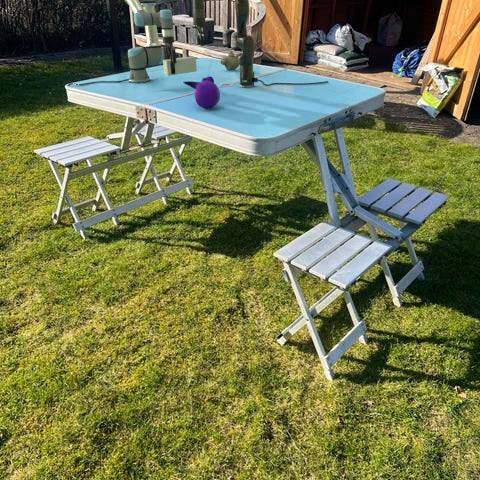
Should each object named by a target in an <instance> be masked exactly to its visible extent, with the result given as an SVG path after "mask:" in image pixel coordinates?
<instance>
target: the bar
mask: <svg viewBox="0 0 480 480" xmlns="http://www.w3.org/2000/svg"><path fill="white" fill-rule="evenodd" d="M170 63H171V60H170V59H167V60H163V64H162V66H163V75H165V76H167V77H169V76H177V75H181V74H189V73H196V72H198V70H197V68H198V67H197V57H196V56H192V55H191V56H183V57H176V63H175V73H176V74H171V64H170Z"/></svg>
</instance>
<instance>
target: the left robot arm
mask: <svg viewBox="0 0 480 480" xmlns="http://www.w3.org/2000/svg"><path fill="white" fill-rule="evenodd" d="M157 1H158V0H124V2H125V3H126V4H127V5H128V6H129V8H130V9H131V12H132V13H133V22H134V25H135V27H144V31H145V37H146V44H145V46H144V47H145V48H144V47H143V46H136V47H132V48H130V49H127V58H128V66H129V76H128V78H126V79H122V80H100V81H99V80H98V81H97V80H96V81H91V82H84V83H75V84H76V85H75V86H79V87H80V86H85V85H92V84H98V83H99V84H100V83H124V82H127V81H128V82H129V83H133V84H141V83H148V82H150V76H149V74H148V71H147V66H158V65H163V60H167V59H170V60H171V63H170V64H171V74H176V73H175V63H176V58H177V54H176V53H177V52H176V49H177V48H176V46H174V43H175V36H174V32H175V31H174V20H173V17H174V16H173V11H172V10H171V9H160V11H157V12H156V8H155V6H156V5H157ZM158 26H161V36H162V43H163V45H162V44H161V43H160V41H159V33H158ZM73 83H74V82H70V83H68V84H67V87H70V86H71V85H73ZM78 84H79V85H78Z"/></svg>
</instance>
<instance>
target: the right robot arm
mask: <svg viewBox="0 0 480 480" xmlns="http://www.w3.org/2000/svg"><path fill="white" fill-rule="evenodd" d="M234 9H235V20H236V44H237V46H238V48H239V49H241V50H242V52H241V53H242V55H241V56H239V60H240V64H239V87H240V88H246V89H247V88H253V87H255V83H259V82H260V83H261V84H262V85H263V86H265V87H266V86H267V87H268V86H273V85H286V86H287V85H289V86H290V85H293V86H294V85H295V86H302V85H303V86H307V85H318V84H319V85H320V84H327V83H329V81H328V80H326V81H318V82H304V83H303V82H302V83H301V82H300V83H299V82H298V83H295V82H293V83H292V82H271V83H269V84H266V83H265V82H264V81H263V80H261V79H259V78H258V77H255V71H254V56H255V44H256V43H255V39H254V37H253V36H252V35H249V34H248V29H247V27H248V21H249V17H250V13H251V12H250V11H251V9H250V1H249V0H234ZM192 19H193V20H192V21H193V22H192V23H193V24H192V25H193V26H194V27H195V37H196V43H197V45H200V46H201V47H204V46H205V38H206V36H205V34H206V33H205V27H203V26H206V23H207V22H206V10H205V0H192Z"/></svg>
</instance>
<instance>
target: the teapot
mask: <svg viewBox="0 0 480 480" xmlns="http://www.w3.org/2000/svg"><path fill="white" fill-rule="evenodd" d="M242 53H243V52H242V51H241V52H238V53H236V54H235V53H234V52H233V50H230V51H229V53H228V55H227V57H226V56H225V57H222V58H221V59H220V64H221V65H222V66H224V68H225V69H226V71H229V72H231V71H235V70H236V69H238V68H240V59H239V58H240V56H241V55H242Z"/></svg>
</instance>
